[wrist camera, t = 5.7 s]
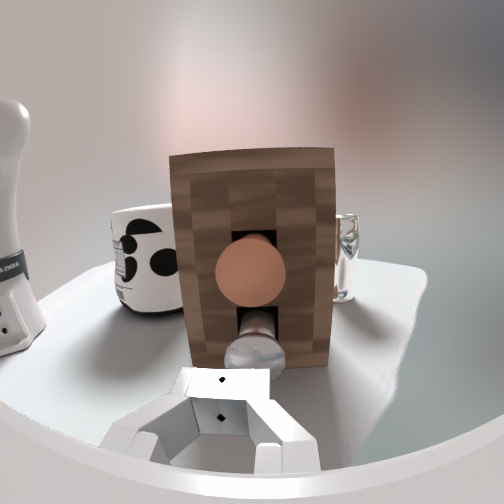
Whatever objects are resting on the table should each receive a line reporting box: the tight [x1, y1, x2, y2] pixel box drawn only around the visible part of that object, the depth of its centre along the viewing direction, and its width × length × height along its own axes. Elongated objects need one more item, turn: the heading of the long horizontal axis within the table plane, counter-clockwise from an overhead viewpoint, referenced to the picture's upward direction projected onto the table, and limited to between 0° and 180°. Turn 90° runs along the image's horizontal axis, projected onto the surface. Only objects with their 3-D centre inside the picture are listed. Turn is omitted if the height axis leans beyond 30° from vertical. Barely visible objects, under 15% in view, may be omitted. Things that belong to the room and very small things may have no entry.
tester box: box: [169, 147, 336, 369], centre depth 33 cm, size 10×16×24 cm, turn 87°
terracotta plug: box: [215, 232, 286, 307], centre depth 25 cm, size 8×5×5 cm, turn 177°
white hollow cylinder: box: [333, 214, 359, 303], centre depth 48 cm, size 7×7×15 cm
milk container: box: [111, 203, 183, 315], centre depth 49 cm, size 17×17×18 cm
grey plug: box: [224, 306, 285, 382], centre depth 27 cm, size 8×5×5 cm, turn 177°
